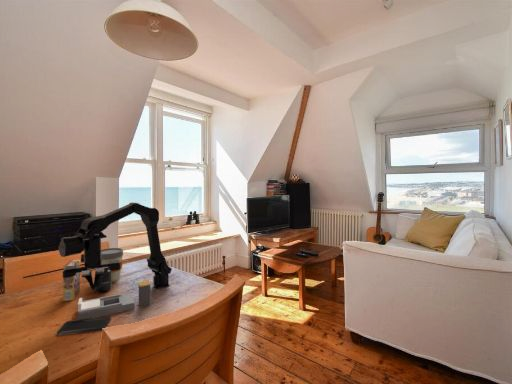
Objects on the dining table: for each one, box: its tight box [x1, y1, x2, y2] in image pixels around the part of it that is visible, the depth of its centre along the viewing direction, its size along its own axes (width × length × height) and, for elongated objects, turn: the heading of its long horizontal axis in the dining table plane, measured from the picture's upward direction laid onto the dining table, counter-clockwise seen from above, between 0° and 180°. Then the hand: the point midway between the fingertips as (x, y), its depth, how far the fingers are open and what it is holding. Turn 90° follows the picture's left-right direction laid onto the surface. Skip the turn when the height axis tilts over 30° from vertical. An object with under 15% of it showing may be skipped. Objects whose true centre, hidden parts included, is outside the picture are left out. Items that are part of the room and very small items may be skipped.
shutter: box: [77, 297, 100, 312], centre depth 100 cm, size 7×7×3 cm
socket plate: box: [77, 292, 136, 320], centre depth 104 cm, size 19×11×3 cm, turn 121°
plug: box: [138, 280, 151, 308], centre depth 108 cm, size 4×4×9 cm
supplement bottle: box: [94, 268, 113, 294], centre depth 121 cm, size 7×7×12 cm
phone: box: [56, 316, 112, 336], centre depth 91 cm, size 8×1×15 cm
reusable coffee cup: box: [101, 247, 124, 283], centre depth 134 cm, size 13×13×15 cm
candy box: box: [62, 259, 81, 302], centre depth 114 cm, size 9×4×15 cm, turn 20°
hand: (93, 289), depth 101 cm, fingers closed
